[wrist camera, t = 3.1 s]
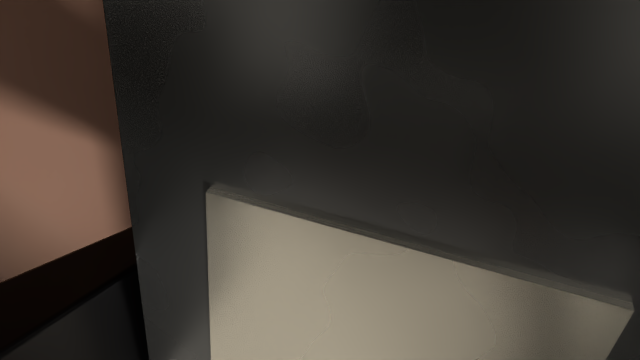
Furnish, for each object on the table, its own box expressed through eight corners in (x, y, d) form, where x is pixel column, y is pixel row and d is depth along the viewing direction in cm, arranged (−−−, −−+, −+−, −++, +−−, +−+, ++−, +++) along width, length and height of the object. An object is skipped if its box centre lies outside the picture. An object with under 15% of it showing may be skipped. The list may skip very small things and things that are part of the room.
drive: (512, 452, 12) (505, 660, 9) (248, 361, 13) (166, 517, 10) (779, -58, 6) (1012, 53, 3) (263, -129, 7) (80, -102, 4)
